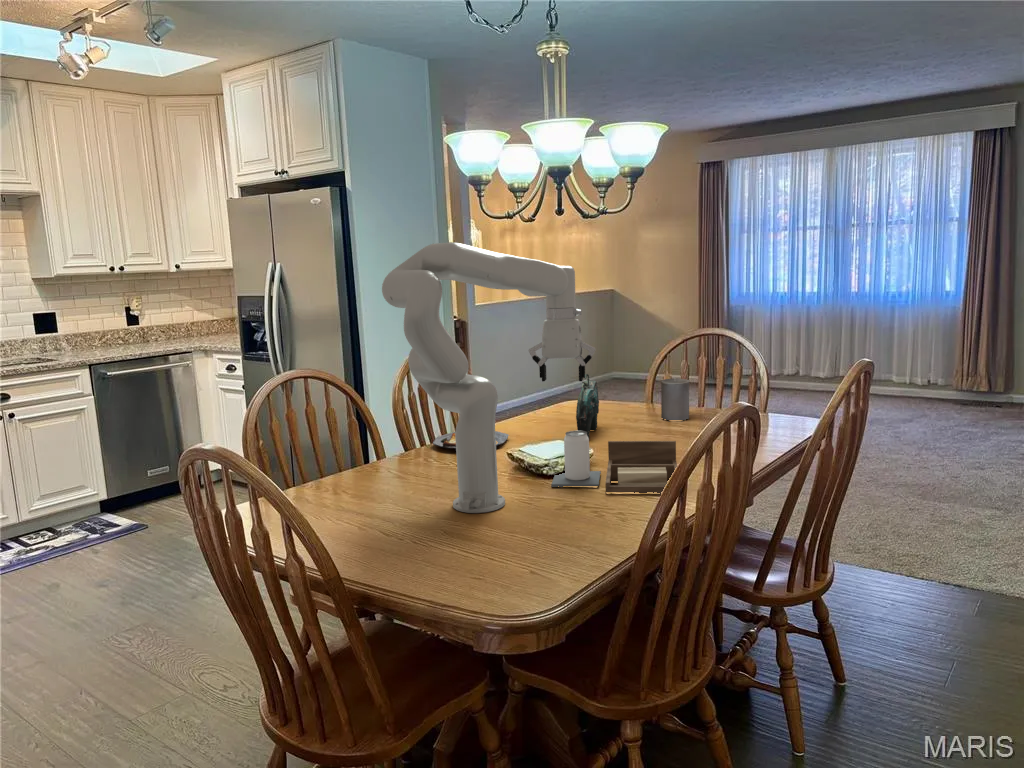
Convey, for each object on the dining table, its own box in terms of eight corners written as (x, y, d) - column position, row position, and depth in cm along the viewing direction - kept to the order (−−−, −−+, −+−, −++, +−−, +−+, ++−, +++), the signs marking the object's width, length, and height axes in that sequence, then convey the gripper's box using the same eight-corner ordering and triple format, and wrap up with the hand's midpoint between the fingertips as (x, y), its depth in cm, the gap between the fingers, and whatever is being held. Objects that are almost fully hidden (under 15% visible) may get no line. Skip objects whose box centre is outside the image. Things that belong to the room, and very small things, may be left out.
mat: (598, 488, 191) (598, 484, 191) (551, 487, 193) (551, 484, 193) (600, 474, 203) (600, 471, 202) (556, 474, 205) (556, 471, 204)
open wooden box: (680, 494, 183) (680, 463, 181) (605, 494, 186) (604, 463, 184) (675, 469, 204) (675, 440, 203) (609, 469, 207) (608, 441, 206)
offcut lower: (667, 492, 187) (667, 482, 187) (618, 492, 189) (618, 482, 189) (666, 486, 192) (666, 476, 191) (619, 486, 194) (618, 476, 193)
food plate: (499, 454, 228) (498, 442, 228) (425, 454, 233) (424, 443, 232) (513, 436, 253) (513, 426, 252) (446, 437, 257) (446, 427, 257)
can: (588, 481, 194) (587, 435, 192) (563, 481, 195) (562, 435, 193) (591, 474, 200) (589, 430, 198) (566, 473, 201) (565, 430, 199)
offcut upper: (666, 482, 187) (666, 472, 186) (618, 482, 188) (617, 473, 188) (665, 476, 191) (665, 467, 191) (617, 477, 193) (617, 467, 193)
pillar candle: (657, 416, 270) (657, 375, 268) (684, 415, 271) (683, 373, 269) (666, 423, 261) (665, 380, 258) (693, 420, 262) (693, 378, 259)
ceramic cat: (584, 427, 259) (583, 370, 255) (603, 428, 257) (602, 370, 254) (573, 441, 240) (571, 379, 237) (593, 442, 238) (591, 379, 235)
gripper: (596, 313, 195) (597, 378, 198) (530, 314, 199) (532, 378, 201) (593, 315, 188) (594, 383, 190) (525, 316, 191) (527, 383, 194)
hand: (562, 380), depth 196 cm, fingers open, 9 cm apart
